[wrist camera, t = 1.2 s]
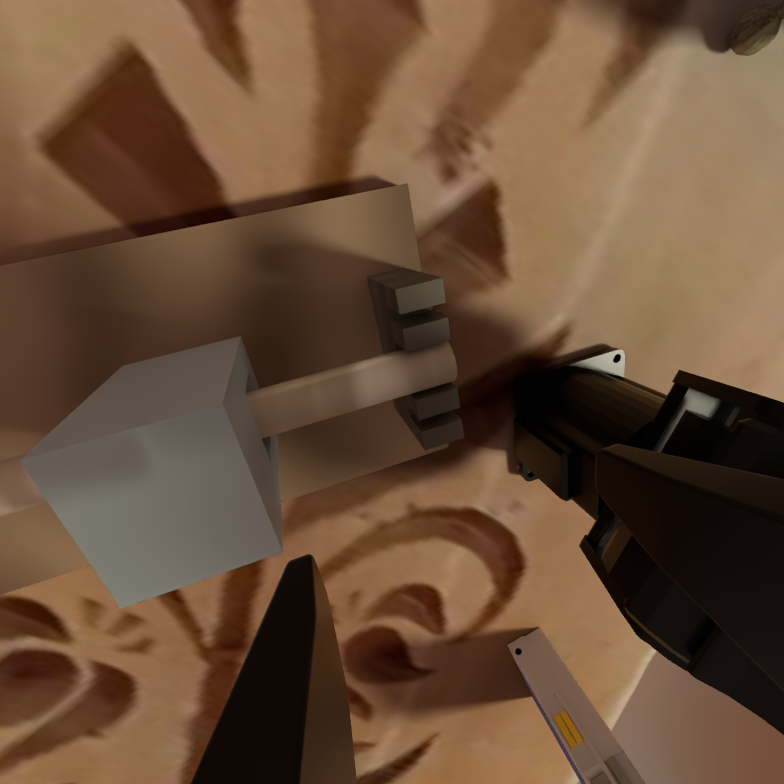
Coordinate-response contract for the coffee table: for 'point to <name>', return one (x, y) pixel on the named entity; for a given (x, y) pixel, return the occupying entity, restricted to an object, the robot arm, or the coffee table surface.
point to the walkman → (571, 714)
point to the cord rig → (225, 321)
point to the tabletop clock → (756, 29)
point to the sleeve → (165, 473)
